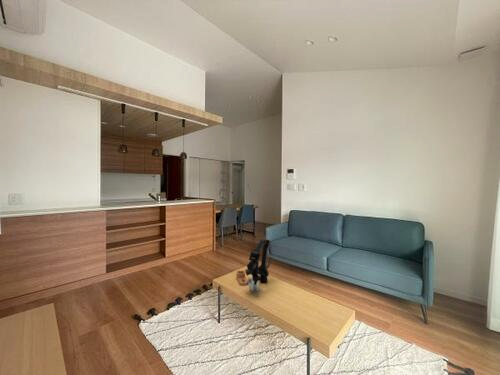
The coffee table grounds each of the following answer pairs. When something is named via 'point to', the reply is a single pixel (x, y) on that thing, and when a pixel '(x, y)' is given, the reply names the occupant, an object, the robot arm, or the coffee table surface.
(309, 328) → the coffee table surface
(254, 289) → the mat
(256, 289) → the wood-topped grey block
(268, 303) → the coffee table surface
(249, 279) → the vise
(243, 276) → the bracket
